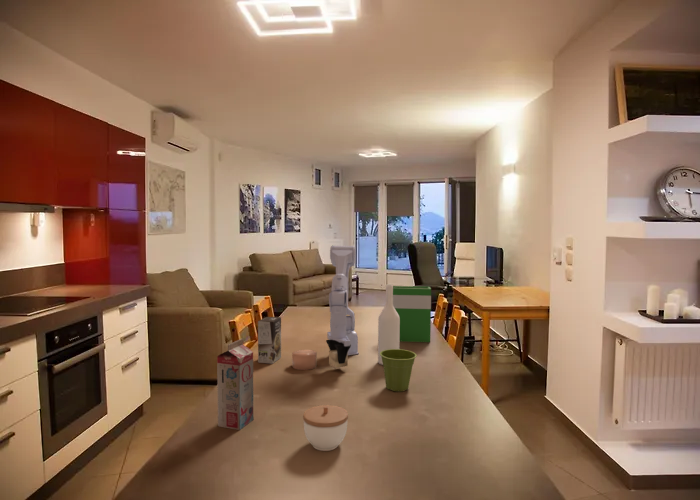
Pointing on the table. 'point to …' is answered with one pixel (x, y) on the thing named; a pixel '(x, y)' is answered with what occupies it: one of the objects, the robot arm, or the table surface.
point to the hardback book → (413, 312)
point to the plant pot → (397, 368)
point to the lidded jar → (325, 426)
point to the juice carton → (235, 386)
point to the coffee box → (269, 339)
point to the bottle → (388, 325)
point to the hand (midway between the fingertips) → (338, 361)
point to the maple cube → (336, 359)
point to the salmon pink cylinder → (304, 359)
